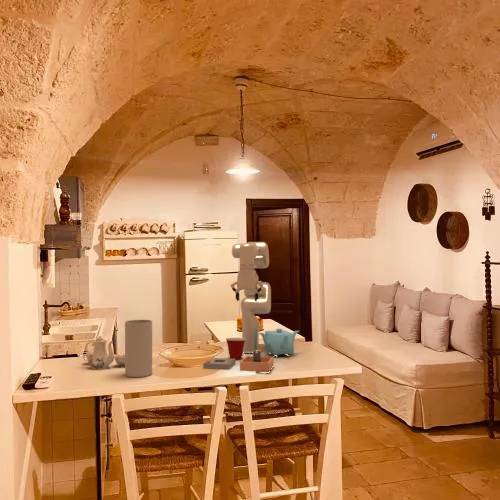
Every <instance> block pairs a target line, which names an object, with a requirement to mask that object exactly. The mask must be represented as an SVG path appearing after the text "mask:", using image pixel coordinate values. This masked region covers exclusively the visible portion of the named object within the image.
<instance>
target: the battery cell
mask: <svg viewBox="0 0 500 500" xmlns="http://www.w3.org/2000/svg"><path fill="white" fill-rule="evenodd" d="M261 353H262V350H261V351H259V350H255V351H253V354H252V356H253V362H261V357H262V356H261Z"/></svg>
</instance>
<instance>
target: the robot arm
mask: <svg viewBox="0 0 500 500" xmlns="http://www.w3.org/2000/svg"><path fill="white" fill-rule="evenodd" d="M268 246H269V245H268V243H267V242H265V241H248V242H243V243H235V244H233V245H232V248H231V255H232V257H233V259H239V270H238V272H237V278H236V279H237V280H236V281H235V282H233V283H231V284H230V287H231V289H232V291H233V292H234V293H235V299H236V302H238V301H240V311H241V319H242V320H241V324H242V325H241V328H242V329H241V331H242V333H241V334H242V335H241V336H242V337H241V338H244V339H246V340H245V343H244V347H243V352H244V353H243V354H245V353H252V352H253V351H255V350H259V351H261V352H262V349H261V348H260V347H259V346H260V344H259V341H260V340H259V336H260V334H259V333H260V332H259V330H260V329H259V328H260V327H259V319H258V318H257V317H256V315H261V314H262V315H265V314H269V313H271V308H272V288H271V285H270V283H268V281H267V282H266V281H259V280H260V279H259V275H258V273H257V271H256V270H255V269H266V268H268V267H269V265H270V253H269V251H270V250H269V247H268ZM241 290H243V294H244V296H245V297H244V298H242V299H241V300H240V291H241Z"/></svg>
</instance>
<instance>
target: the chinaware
mask: <svg viewBox="0 0 500 500" xmlns="http://www.w3.org/2000/svg"><path fill="white" fill-rule="evenodd" d="M107 342H108V341H107V339H104V338H103V337H102V336H101V335H99V336H98V338H96V340H93V341H91V342H87V343H86V344H85V347H84V351H85V355H84V356H83V360H84V362H87V363H88V366H89V367H90V368H91V370H95V371H97V370H98V371H99V370H106V369H109V366H110V365H111V364H112V363H113V362H114V360H115V363H116V364H117V365H119V367H120V366H121V367H120V368H123V366H125V353H124V354H116V355H114V351H113V347H112V343H113V341H109V342H108V345H107ZM89 344H91V346H92V347H93V351H92V352H89V351H88V345H89ZM106 345H107V347H108V348H106ZM107 349H108V352H107ZM85 357H86V358H85ZM86 359H87V360H86Z"/></svg>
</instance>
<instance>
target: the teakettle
mask: <svg viewBox="0 0 500 500" xmlns="http://www.w3.org/2000/svg"><path fill="white" fill-rule="evenodd" d="M299 332H300V330H295V331H293V332H290V331H288V330H285V329H283V328H276V329H275V330H266V331H264V332H259V335H261V337H262V339H263V344H264V351H266V352H268V353H269V352H270V353H271V354H273V355H278V356H279V355H284V354H289V355H291V354H294V353H295V347H294V346H295V344H294V343H295V339H296V335H297V334H298V333H299ZM273 355H272V356H273Z"/></svg>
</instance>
